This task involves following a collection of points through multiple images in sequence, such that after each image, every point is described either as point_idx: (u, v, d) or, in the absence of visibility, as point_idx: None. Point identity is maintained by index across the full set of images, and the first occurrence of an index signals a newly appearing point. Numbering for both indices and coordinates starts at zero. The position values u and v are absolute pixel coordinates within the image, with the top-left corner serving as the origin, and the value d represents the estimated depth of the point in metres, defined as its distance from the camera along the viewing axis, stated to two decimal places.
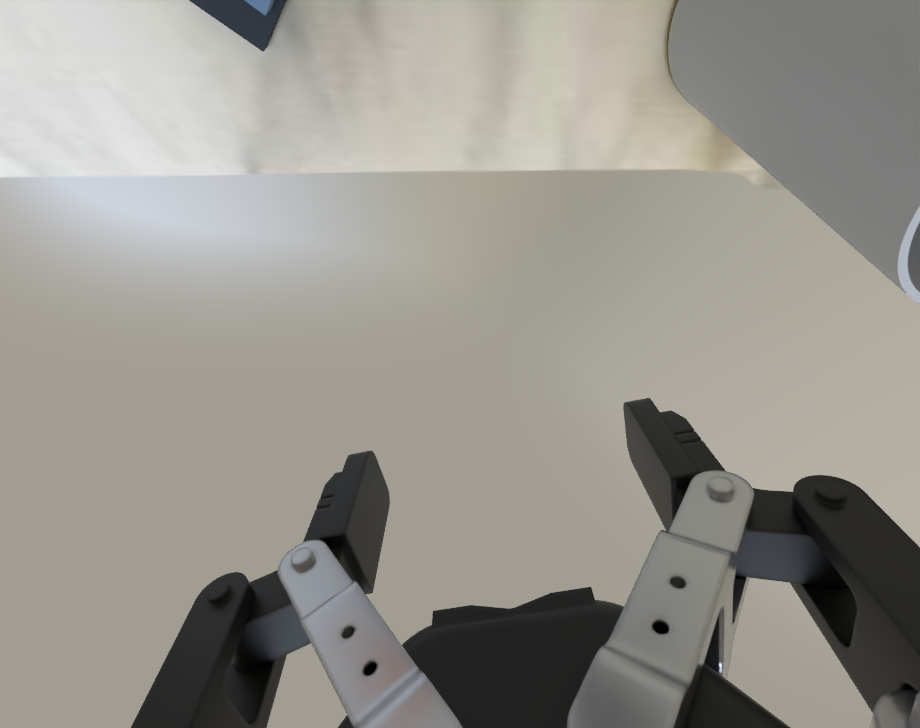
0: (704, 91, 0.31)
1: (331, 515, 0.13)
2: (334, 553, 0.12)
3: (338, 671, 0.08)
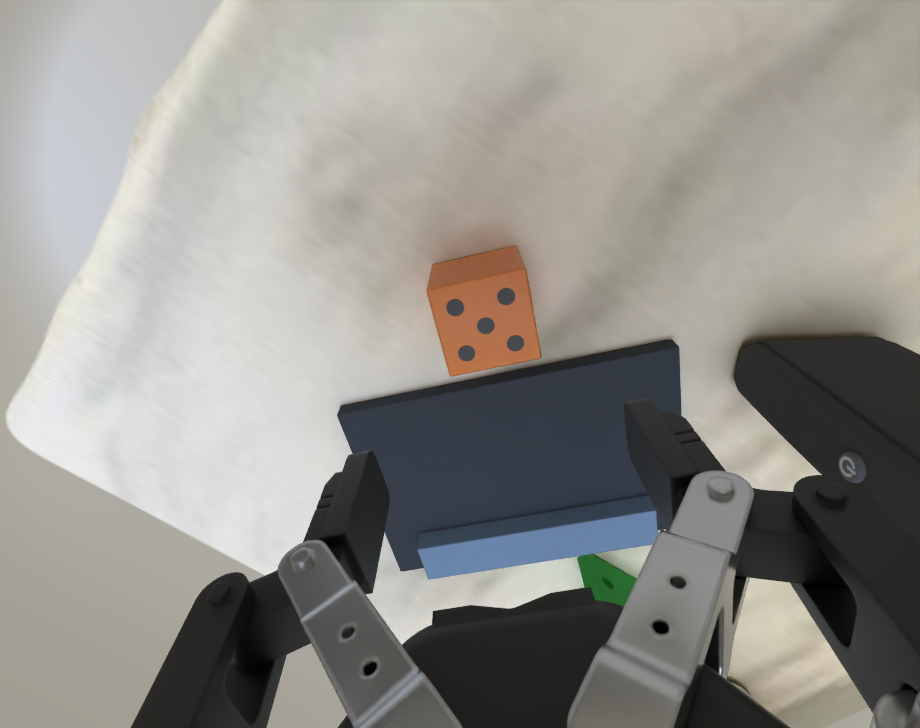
0: None
1: (331, 515, 0.13)
2: (334, 553, 0.12)
3: (338, 671, 0.08)
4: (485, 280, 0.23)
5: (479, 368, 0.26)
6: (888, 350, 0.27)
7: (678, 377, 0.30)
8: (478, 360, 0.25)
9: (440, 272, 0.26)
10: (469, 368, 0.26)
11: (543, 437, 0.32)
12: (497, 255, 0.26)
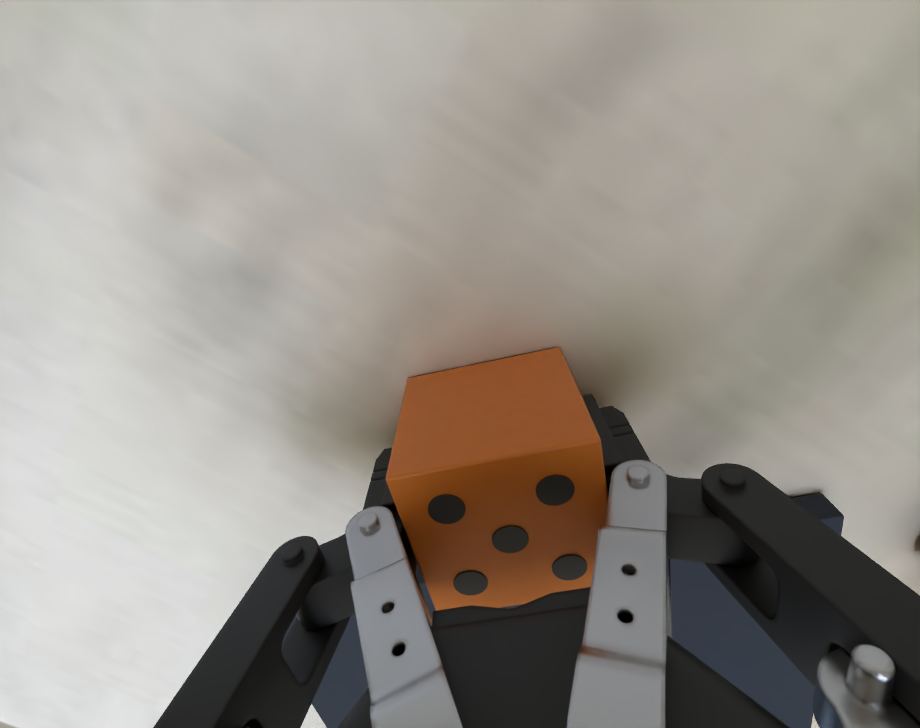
0: None
1: None
2: (395, 520, 0.12)
3: (370, 643, 0.08)
4: (511, 461, 0.11)
5: (495, 605, 0.13)
6: None
7: None
8: (493, 593, 0.13)
9: (419, 410, 0.13)
10: (475, 605, 0.13)
11: None
12: (528, 374, 0.14)
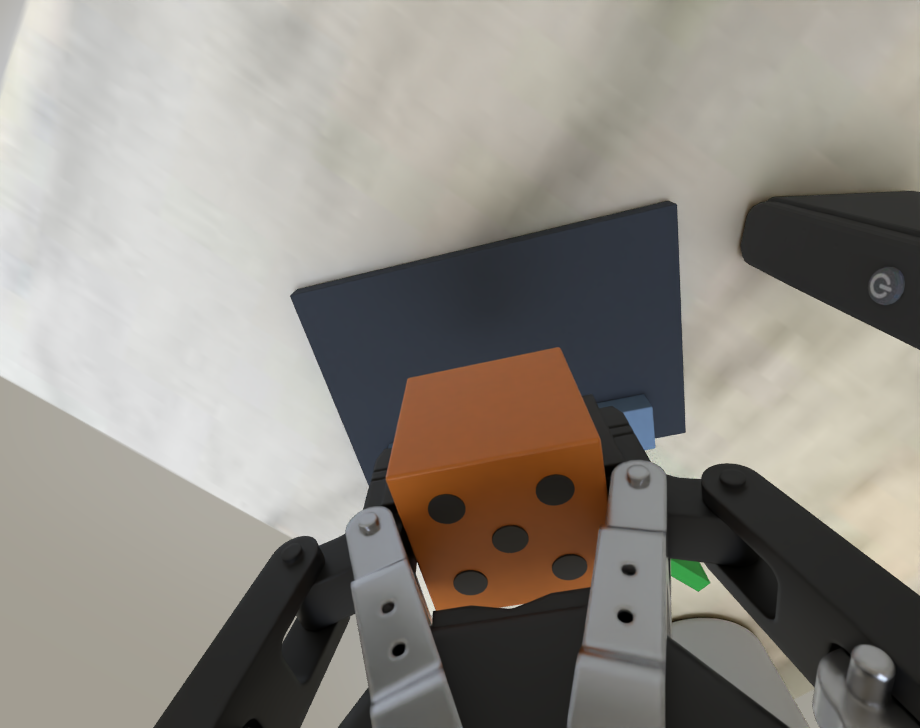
0: None
1: None
2: (395, 519, 0.12)
3: (370, 643, 0.08)
4: (511, 461, 0.11)
5: (495, 605, 0.13)
6: None
7: (676, 243, 0.26)
8: (493, 593, 0.13)
9: (419, 410, 0.13)
10: (475, 605, 0.13)
11: (524, 322, 0.28)
12: (528, 374, 0.14)
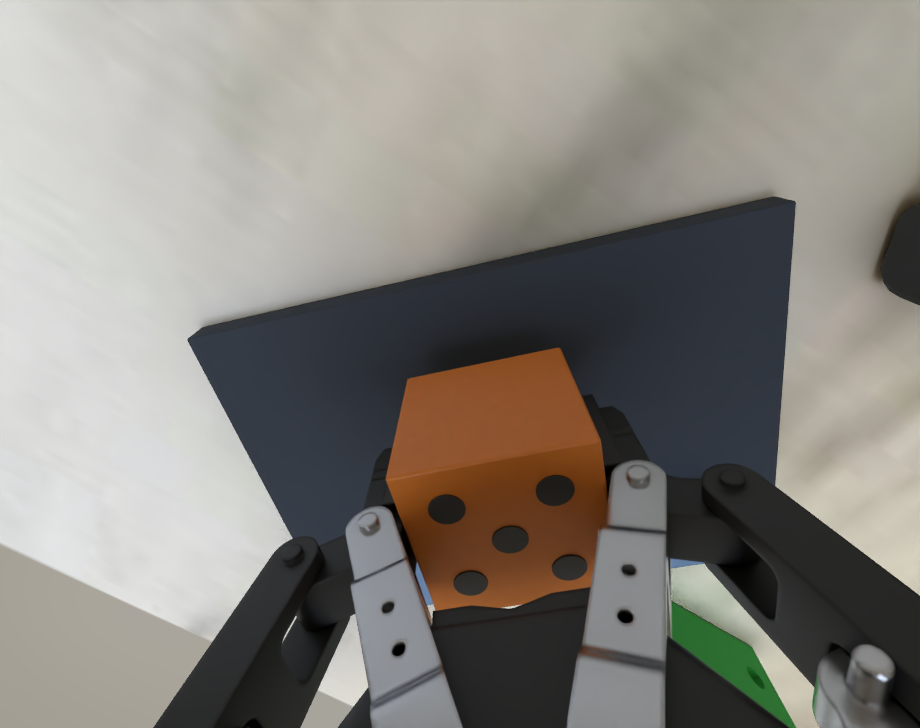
0: None
1: None
2: (395, 519, 0.12)
3: (371, 643, 0.08)
4: (511, 461, 0.11)
5: (495, 605, 0.13)
6: None
7: (788, 264, 0.17)
8: (493, 593, 0.13)
9: (419, 411, 0.13)
10: (475, 605, 0.13)
11: None
12: (528, 374, 0.14)
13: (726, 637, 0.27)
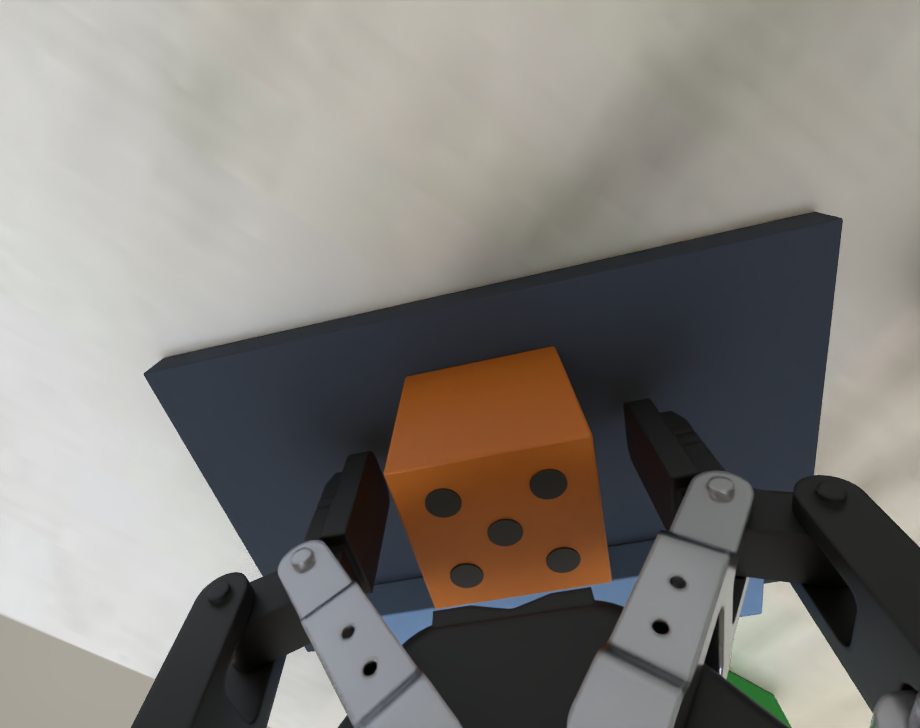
0: None
1: (331, 515, 0.13)
2: (334, 553, 0.12)
3: (338, 671, 0.08)
4: (506, 456, 0.11)
5: (491, 597, 0.13)
6: None
7: (831, 289, 0.15)
8: (489, 585, 0.13)
9: (416, 407, 0.14)
10: (472, 597, 0.13)
11: None
12: (523, 372, 0.14)
13: (747, 686, 0.25)
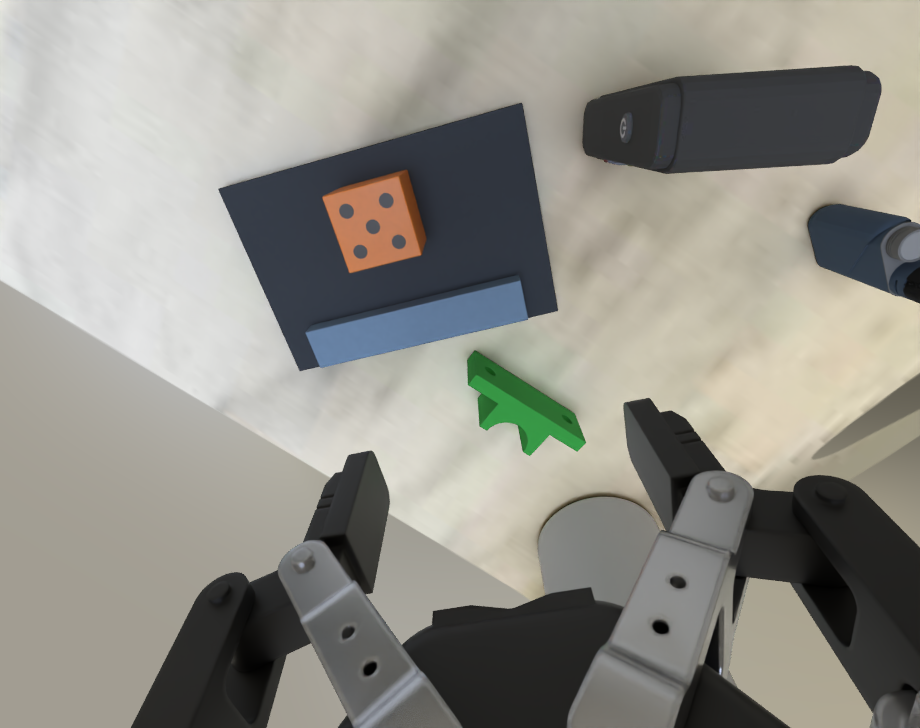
0: (550, 586, 0.43)
1: (331, 515, 0.13)
2: (334, 553, 0.12)
3: (338, 671, 0.08)
4: (368, 186, 0.29)
5: (372, 265, 0.31)
6: None
7: (526, 137, 0.33)
8: (370, 258, 0.31)
9: (340, 189, 0.32)
10: (364, 265, 0.31)
11: None
12: (388, 175, 0.32)
13: (554, 402, 0.43)
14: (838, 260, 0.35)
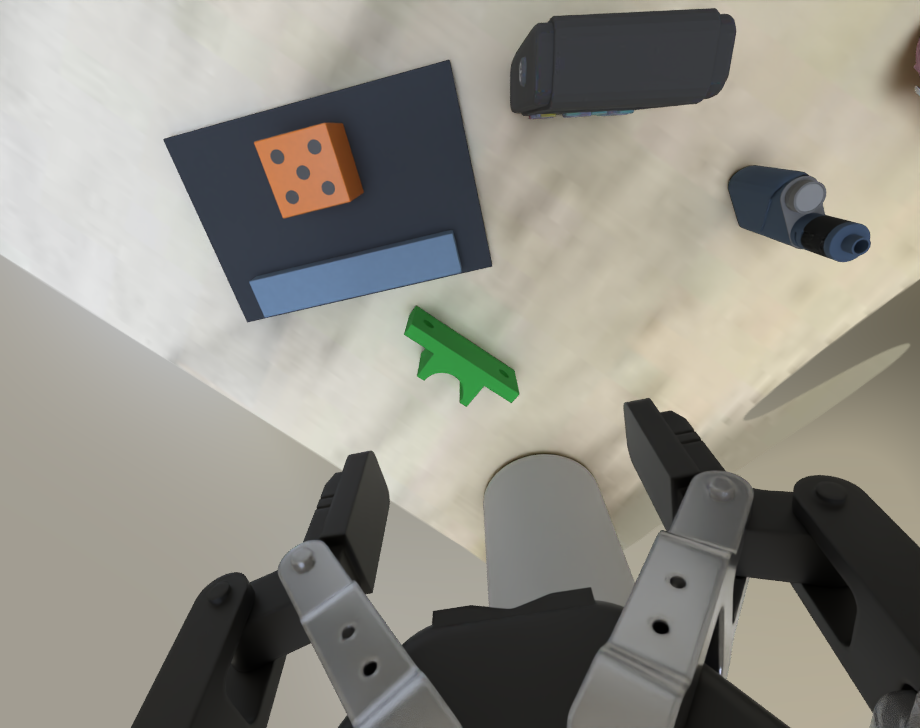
0: (488, 535, 0.45)
1: (331, 515, 0.13)
2: (334, 553, 0.12)
3: (338, 671, 0.08)
4: (296, 133, 0.31)
5: (304, 210, 0.33)
6: None
7: (455, 94, 0.34)
8: (302, 203, 0.33)
9: None
10: (296, 210, 0.33)
11: None
12: None
13: (494, 358, 0.44)
14: (753, 218, 0.37)
